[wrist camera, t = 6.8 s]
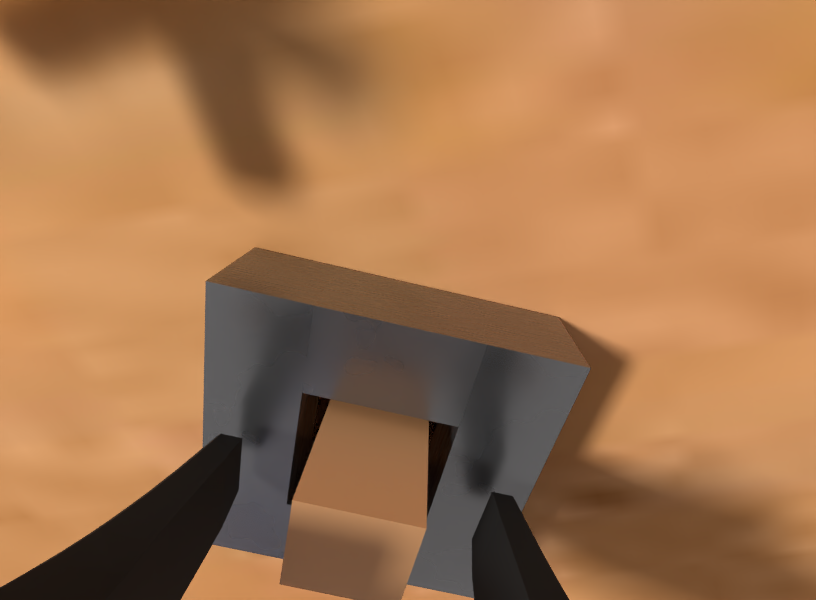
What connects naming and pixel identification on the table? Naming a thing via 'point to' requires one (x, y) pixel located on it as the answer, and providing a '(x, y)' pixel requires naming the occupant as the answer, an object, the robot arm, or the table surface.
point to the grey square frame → (380, 392)
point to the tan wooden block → (359, 505)
